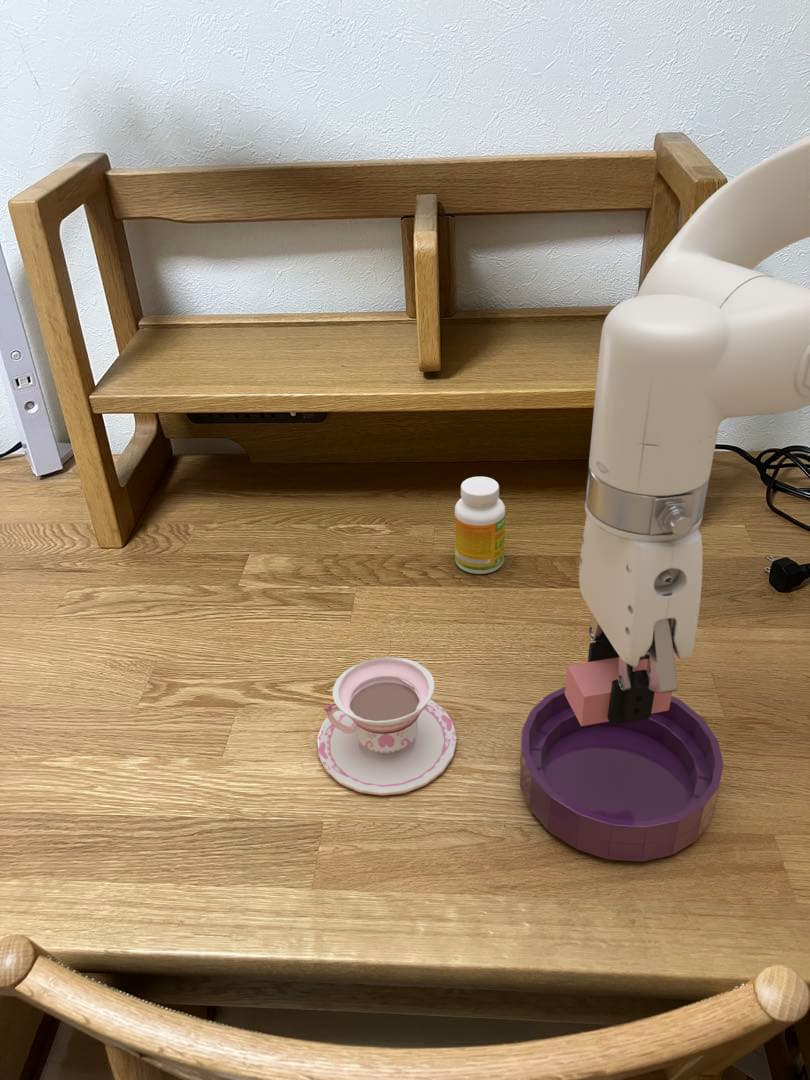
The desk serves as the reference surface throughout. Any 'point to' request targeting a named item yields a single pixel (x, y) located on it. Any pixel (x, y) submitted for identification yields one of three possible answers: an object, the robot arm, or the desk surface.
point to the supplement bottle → (479, 526)
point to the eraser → (600, 690)
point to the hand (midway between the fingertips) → (617, 698)
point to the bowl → (620, 779)
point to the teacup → (385, 728)
